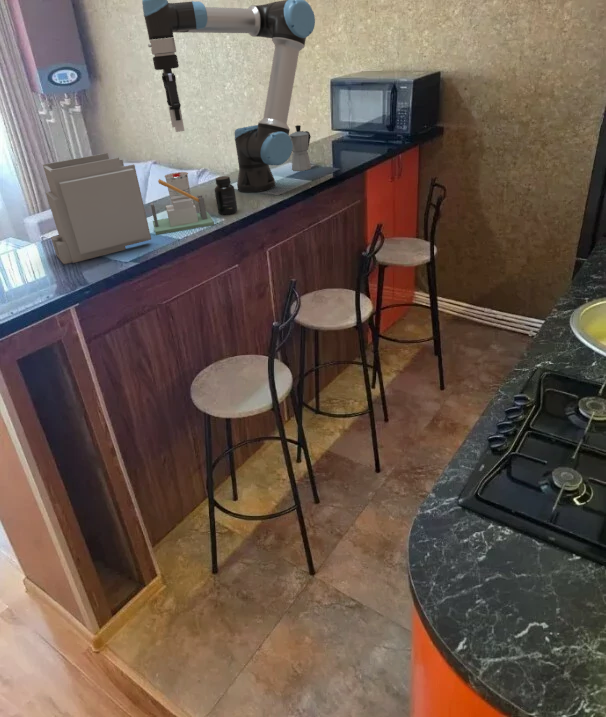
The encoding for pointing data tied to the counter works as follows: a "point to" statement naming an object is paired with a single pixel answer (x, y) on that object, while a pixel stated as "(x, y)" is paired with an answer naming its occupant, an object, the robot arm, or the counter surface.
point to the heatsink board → (181, 227)
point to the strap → (178, 190)
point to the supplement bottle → (225, 196)
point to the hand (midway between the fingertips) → (178, 129)
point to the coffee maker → (300, 150)
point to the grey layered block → (95, 207)
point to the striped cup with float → (178, 183)
